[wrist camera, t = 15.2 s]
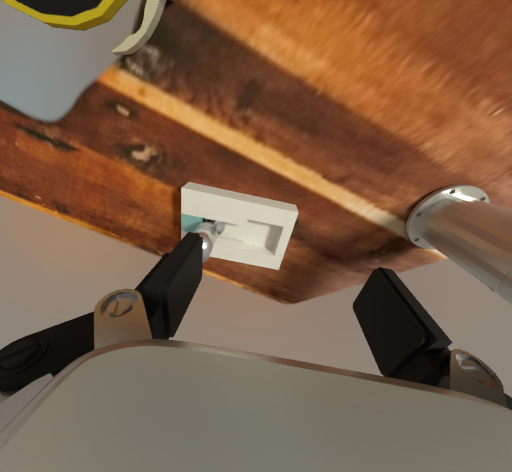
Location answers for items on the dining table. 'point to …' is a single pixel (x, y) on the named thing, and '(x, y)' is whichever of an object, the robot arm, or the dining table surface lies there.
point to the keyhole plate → (240, 223)
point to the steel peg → (209, 234)
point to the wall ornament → (91, 17)
